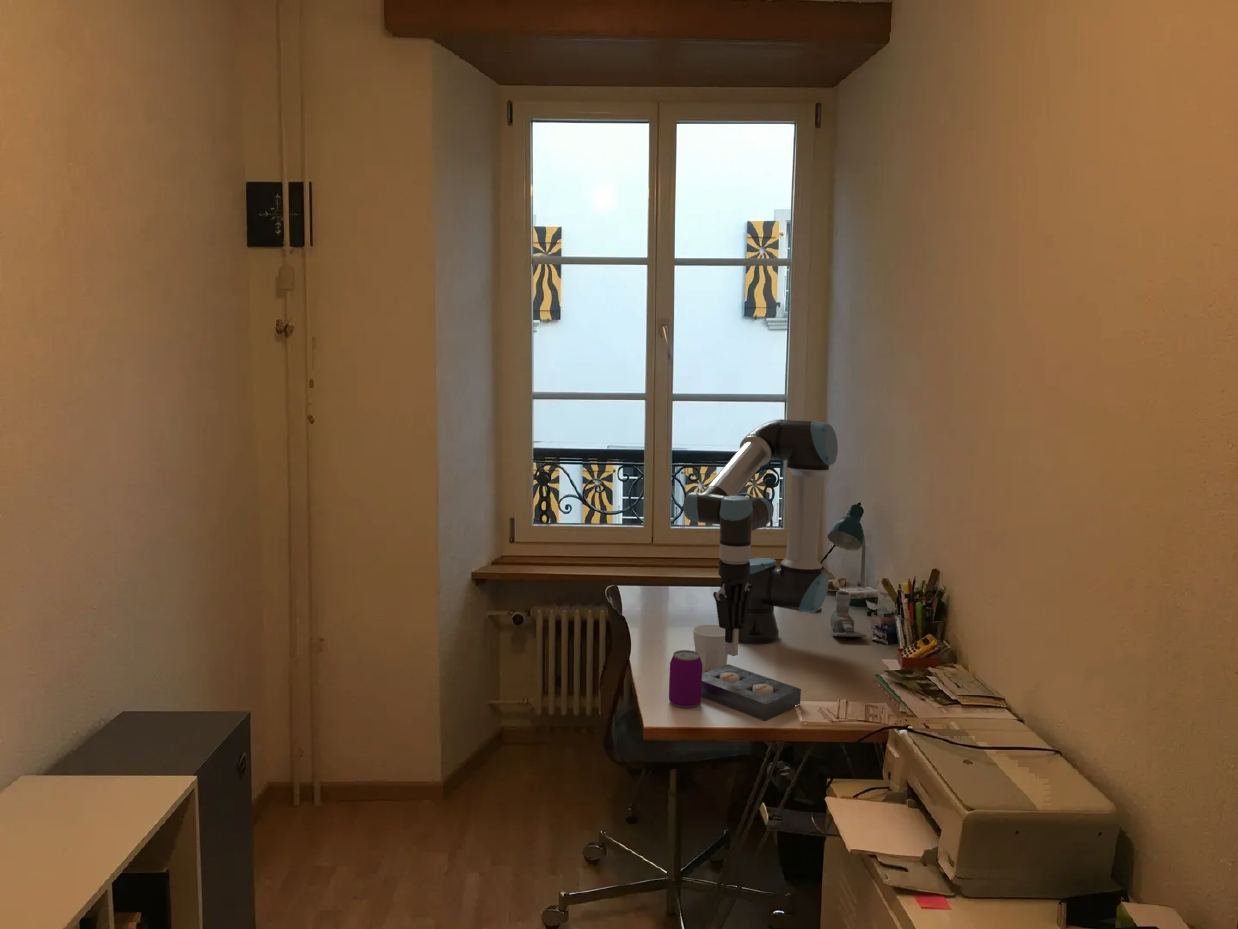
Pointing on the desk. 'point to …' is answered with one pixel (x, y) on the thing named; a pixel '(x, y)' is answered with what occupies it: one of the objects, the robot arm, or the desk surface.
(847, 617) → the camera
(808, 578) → the robot arm
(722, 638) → the cup
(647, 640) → the desk surface
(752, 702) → the mount plate
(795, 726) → the desk surface
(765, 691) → the knob
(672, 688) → the beverage can
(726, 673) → the knob
